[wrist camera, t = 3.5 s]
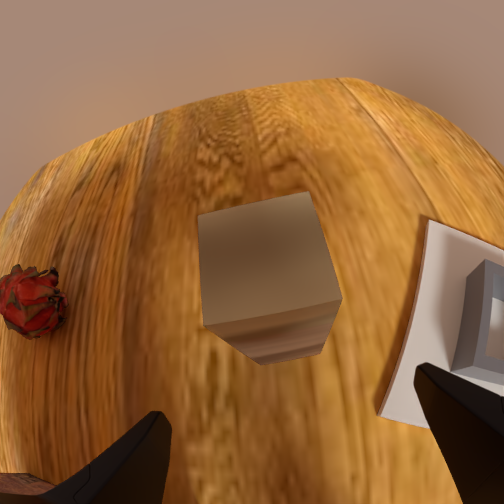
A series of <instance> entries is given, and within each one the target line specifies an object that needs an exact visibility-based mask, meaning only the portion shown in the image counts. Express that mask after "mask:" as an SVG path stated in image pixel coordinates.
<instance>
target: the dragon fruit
mask: <svg viewBox="0 0 504 504" xmlns="http://www.w3.org/2000/svg"><path fill="white" fill-rule="evenodd" d="M50 269H51V271H50V273H49V274H47V275H45V276H42V277H39V276H40V275H42V274H44V273H46V272H48V270H44V271H42V272H40V273H38V272H37V269H36V267H35V266H34V267H28V268H27V269H26V270H25V271H24V272H23V270H22V269H21V267H20V264H17V265H15V266H13V268H12V270H11V273H10V274H8V275H5V276H3V277H2V278H1V279H0V314H1V315H3V318H4V321H5V323H6V325H7V328H8V329H13V330H16V331H17V332H18V333H20V334H21V335H22V336H23V337H25V338H26V339H29V340H31V339H32V338H40V335H43V334H45V333H46V332H49V331H52V330H53V329H58V328H59V327H60V326H61V325H62V324H63V323H64V322H65V320H66V318H67V317H66V318H61V316H60V315H59V313H60V312H61V311H63V309H64V308H66V307H67V306H68V304H69V303H68V302H67V299H66V295H65V293H64V292H63V293H61V292H60V289H57V288H56V286H57V284H58V277H59V275H58V272H57V271H56V269H55V268H54V267H51V268H50Z"/></svg>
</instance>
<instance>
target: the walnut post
mask: <svg viewBox="0 0 504 504" xmlns="http://www.w3.org/2000/svg"><path fill="white" fill-rule="evenodd" d="M198 239H199V263H200V282H201V299H202V313H203V326H205V327H206V328H207V329H209V330H210V331H211V332H213V333H214V334H216V335H217V336H218V337H220V338H221V339H223V340H224V341H226V342H227V343H229V344H230V345H231V346H233V347H234V348H236V349H237V350H239V351H240V352H242V353H243V354H245V355H246V356H248V357H249V358H251V359H252V360H254V361H255V362H257V363H258V364H260V365H265V364H271V363H277V362H283V361H288V360H293V359H298V358H303V357H308V356H312V355H317V354H320V353H321V351H322V348H323V346H324V344H325V341H326V339H327V337H328V334H329V332H330V329H331V327H332V324H333V322H334V319H335V317H336V314H337V312H338V309H339V307H340V304H341V301H342V299H343V298H342V295H341V291H340V288H339V284H338V280H337V277H336V274H335V270H334V267H333V263H332V260H331V257H330V253H329V250H328V247H327V244H326V241H325V238H324V234H323V231H322V228H321V225H320V222H319V219H318V216H317V213H316V210H315V207H314V205H313V202H312V199H311V196H310V193H309V191H307V192H302V193H297V194H292V195H287V196H282V197H277V198H272V199H267V200H263V201H258V202H254V203H249V204H244V205H240V206H236V207H231V208H227V209H223V210H218V211H214V212H210V213H206V214H202V215H198Z"/></svg>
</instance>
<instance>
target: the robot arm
mask: <svg viewBox="0 0 504 504" xmlns="http://www.w3.org/2000/svg"><path fill="white" fill-rule="evenodd" d="M413 385H414V389H415V391H416V394H417V397H418V399H419V402H420V405H421V408H422V410H423V413H424V416H425V419H426V421H427V423H428V425H429V427H430V429H431V431H432V433H433V435H434V438H435V440H436V442H437V444H438V446H439V448H440V450H441V452H442V455H443V457H444V459H445V461H446V463H447V466H448V468H449V470H450V473H451V475H452V477H453V480H454V482H455V485H456V487H457V489H458V492H459V494H460V497H461V500H462V502H463V504H504V396H500V395H499V394H497V393H494V392H492V391H490V390H488V389H485V388H483V387H481V386H479V385H477V384H474V383H472V382H470V381H468V380H465V379H463V378H461V377H459V376H457V375H455V374H452V373H450V372H448V371H446V370H444V369H442V368H439V367H437V366H435V365H433V364H431V363H429V362H424V363H422V364H419V365H417V366H416V369H415V375H414V381H413ZM171 435H172V427H171V424H170V423H169V421H168V420H167V418H166V416H165V415H164V413H163V412H161V411H151V412H149V413H148V414H147V415H146V416H145V417H144V418H143V419H141V420H140V421H139V422H138V423H137V424H136V425H135V426H133V427H132V428H131V429H130V430H129V431H128V432H126V433H125V434H124V435H123V436H122V437H121V438H119V439H118V440H117V441H116V442H115V443H114V444H112V445H111V446H110V447H109V448H108V449H106V450H105V451H104V452H103V453H101V454H100V455H99V456H98V457H97V458H95V459H94V460H93V461H92V462H90V464H88V465H86V466H85V467H84V468H83V469H81V470H80V471H79V472H77V473H76V474H75V475H73V476H72V477H70V478H68V479H67V480H65V481H64V482H62V483H60V484H59V485H57V486H55V487H54V488H52V489H50V490H48V491H47V492H45V493H42V494H38V495H23V494H12V493H3V492H0V504H162V498H163V493H164V488H165V482H166V477H167V472H168V467H169V460H170V447H171Z"/></svg>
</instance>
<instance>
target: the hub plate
mask: <svg viewBox="0 0 504 504" xmlns="http://www.w3.org/2000/svg"><path fill="white" fill-rule="evenodd" d="M424 362H429V363H431V364H433V365H435V366H437V367H439V368H442V369H444V370H446V371H448V372H450V373H452V374H455V375H457V376H459V377H461V378H463V379H465V380H468V381H470V382H472V383H474V384H477V385H479V386H481V387H483V388H485V389H488V390H490V391H492V392H494V393H497V394H499V395H500V396H504V251H503V250H501V249H499V248H497V247H495V246H493V245H490V244H488V243H486V242H484V241H481V240H479V239H477V238H474V237H472V236H470V235H467V234H465V233H463V232H460V231H458V230H455V229H453V228H450V227H448V226H445V225H442V224H440V223H437V222H435V221H432V220H429V221H428V223H427V225H426V231H425V240H424V247H423V254H422V261H421V267H420V273H419V278H418V284H417V289H416V294H415V298H414V303H413V307H412V311H411V316H410V320H409V323H408V327H407V331H406V335H405V338H404V342H403V345H402V348H401V352H400V355H399V358H398V361H397V364H396V367H395V370H394V373H393V376H392V379H391V381H390V384H389V387H388V389H387V392H386V395H385V397H384V400H383V402H382V404H381V407H380V409H379V412H378V414H377V416H380V417H384V418H387V419H391V420H395V421H399V422H403V423H407V424H411V425H415V426H420V427H425V428H429V429H430V427H429V425H428V423H427V421H426V419H425V416H424V413H423V410H422V408H421V405H420V402H419V399H418V397H417V394H416V391H415V389H414V385H413V381H414V375H415V369H416V366H417V365H419V364H422V363H424Z"/></svg>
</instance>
